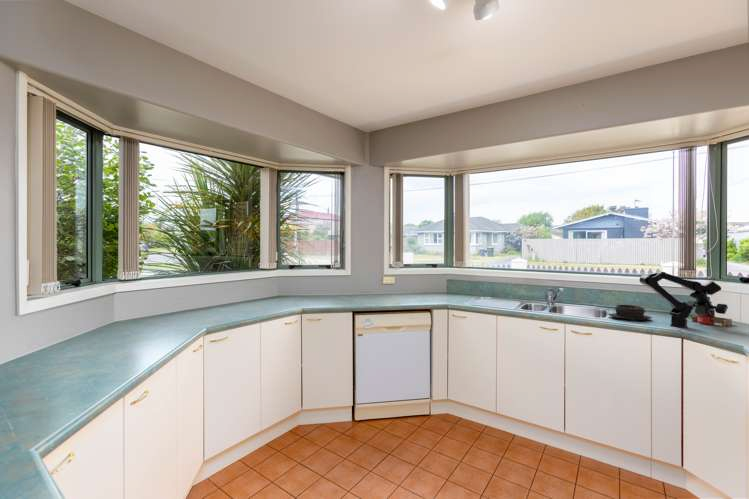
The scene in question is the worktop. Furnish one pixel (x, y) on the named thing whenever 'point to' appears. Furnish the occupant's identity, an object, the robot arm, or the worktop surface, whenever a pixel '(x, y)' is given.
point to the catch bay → (717, 320)
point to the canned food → (707, 319)
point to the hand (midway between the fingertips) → (709, 316)
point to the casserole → (629, 312)
